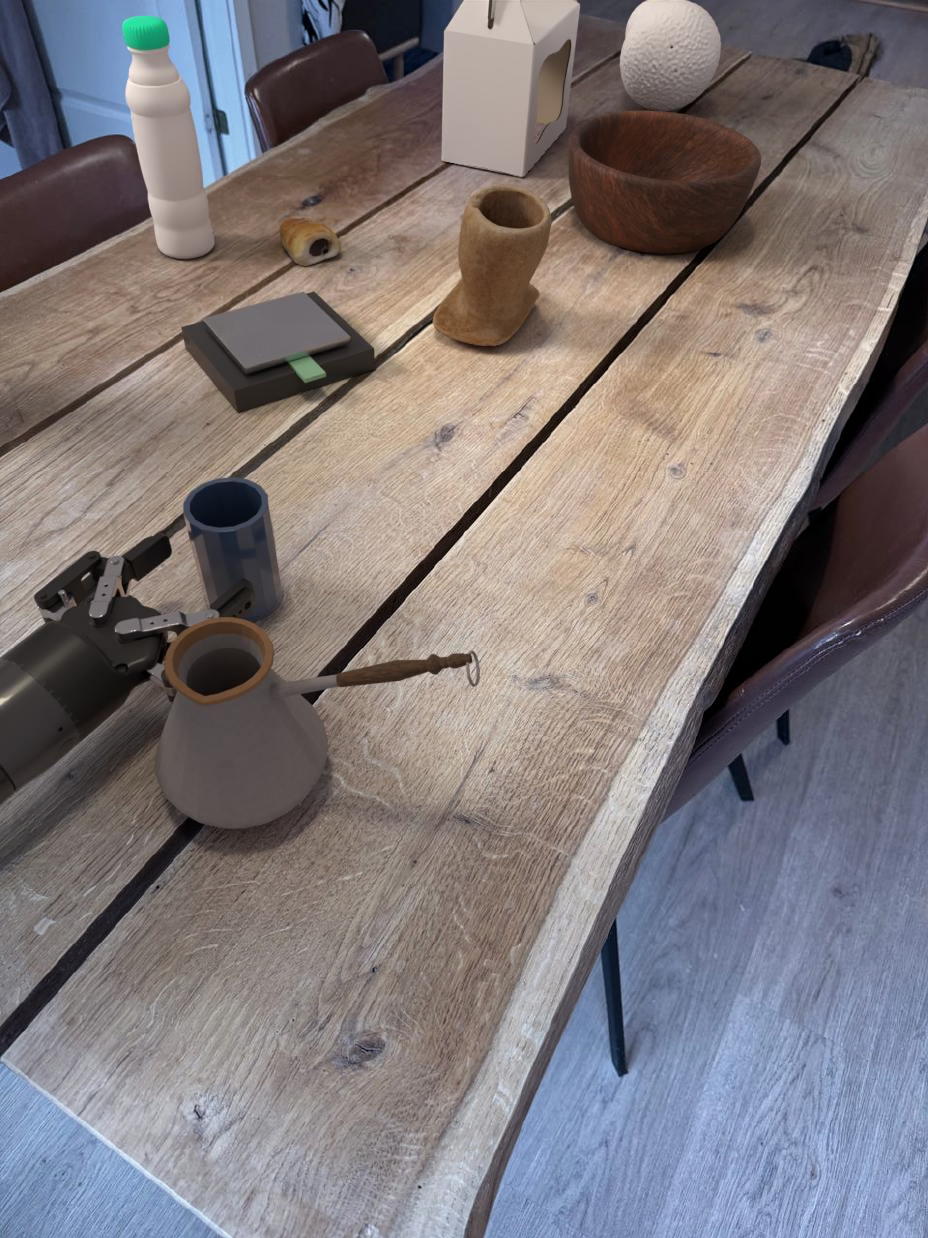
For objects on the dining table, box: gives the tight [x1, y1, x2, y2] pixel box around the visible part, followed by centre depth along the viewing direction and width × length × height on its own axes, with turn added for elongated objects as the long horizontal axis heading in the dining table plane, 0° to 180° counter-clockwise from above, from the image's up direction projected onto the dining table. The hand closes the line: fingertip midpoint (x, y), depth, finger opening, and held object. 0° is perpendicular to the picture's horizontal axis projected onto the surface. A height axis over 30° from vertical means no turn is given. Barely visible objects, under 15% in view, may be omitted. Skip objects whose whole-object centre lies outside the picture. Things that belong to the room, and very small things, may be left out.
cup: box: [182, 476, 284, 623], centre depth 71 cm, size 6×6×10 cm
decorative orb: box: [619, 0, 722, 112], centre depth 150 cm, size 20×18×16 cm
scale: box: [180, 291, 376, 413], centre depth 97 cm, size 16×16×3 cm
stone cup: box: [432, 183, 553, 347], centre depth 100 cm, size 15×12×15 cm
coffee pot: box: [154, 617, 481, 830], centre depth 58 cm, size 21×12×15 cm, turn 85°
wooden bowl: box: [567, 110, 762, 255], centre depth 122 cm, size 25×25×10 cm
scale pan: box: [201, 291, 351, 374], centre depth 96 cm, size 12×11×1 cm
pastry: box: [278, 217, 342, 267], centre depth 115 cm, size 9×7×4 cm
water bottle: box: [121, 15, 215, 260], centre depth 106 cm, size 7×7×25 cm
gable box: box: [440, 0, 581, 178], centre depth 132 cm, size 22×13×28 cm, turn 159°
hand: (207, 564), depth 69 cm, fingers open, 8 cm apart
